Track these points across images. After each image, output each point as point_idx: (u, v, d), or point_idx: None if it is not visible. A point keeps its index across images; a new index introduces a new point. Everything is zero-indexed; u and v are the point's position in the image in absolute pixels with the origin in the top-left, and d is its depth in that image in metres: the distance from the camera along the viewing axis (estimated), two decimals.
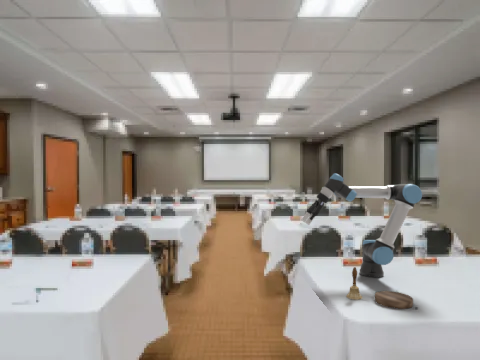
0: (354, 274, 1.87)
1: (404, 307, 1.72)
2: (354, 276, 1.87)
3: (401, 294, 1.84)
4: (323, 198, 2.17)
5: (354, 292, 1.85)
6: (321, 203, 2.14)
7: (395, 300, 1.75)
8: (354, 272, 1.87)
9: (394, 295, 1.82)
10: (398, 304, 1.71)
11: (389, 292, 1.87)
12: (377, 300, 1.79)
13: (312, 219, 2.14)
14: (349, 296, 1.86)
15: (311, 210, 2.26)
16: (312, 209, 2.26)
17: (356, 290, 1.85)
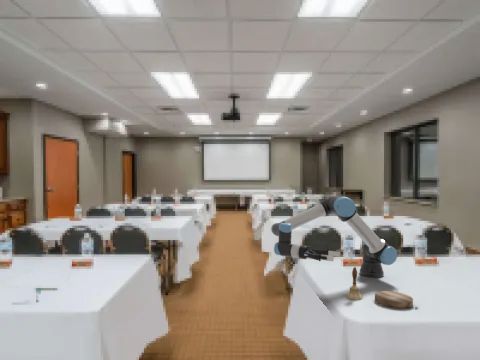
0: (354, 274, 1.87)
1: (404, 307, 1.72)
2: (354, 276, 1.87)
3: (401, 294, 1.84)
4: (301, 253, 1.99)
5: (354, 292, 1.85)
6: (305, 255, 1.94)
7: (395, 300, 1.75)
8: (354, 272, 1.87)
9: (394, 295, 1.82)
10: (398, 304, 1.71)
11: (389, 292, 1.87)
12: (377, 300, 1.79)
13: (325, 255, 1.89)
14: (349, 296, 1.86)
15: (323, 252, 2.02)
16: (321, 252, 2.02)
17: (356, 290, 1.85)
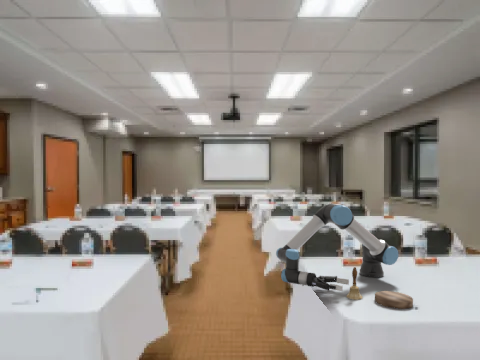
0: (354, 274, 1.87)
1: (404, 307, 1.72)
2: (354, 276, 1.87)
3: (401, 294, 1.84)
4: (309, 281, 1.96)
5: (354, 292, 1.85)
6: (314, 284, 1.91)
7: (395, 300, 1.75)
8: (354, 272, 1.87)
9: (394, 295, 1.82)
10: (398, 304, 1.71)
11: (389, 292, 1.87)
12: (377, 300, 1.79)
13: (334, 285, 1.85)
14: (349, 296, 1.86)
15: (332, 279, 1.99)
16: (330, 280, 1.99)
17: (356, 290, 1.85)
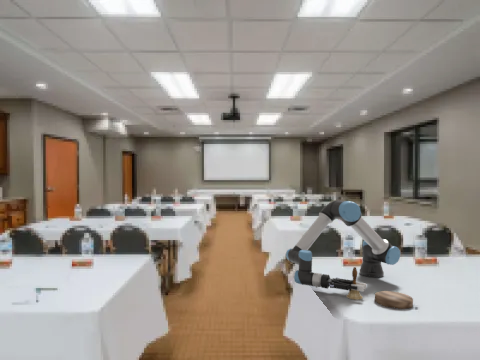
0: (354, 274, 1.87)
1: (404, 307, 1.72)
2: (354, 276, 1.87)
3: (401, 294, 1.84)
4: (324, 283, 1.92)
5: (354, 292, 1.85)
6: (332, 286, 1.87)
7: (395, 300, 1.75)
8: (354, 272, 1.87)
9: (394, 295, 1.82)
10: (398, 304, 1.71)
11: (389, 292, 1.87)
12: (377, 300, 1.79)
13: (355, 285, 1.84)
14: (349, 296, 1.86)
15: (347, 283, 1.92)
16: (345, 283, 1.92)
17: (356, 290, 1.85)
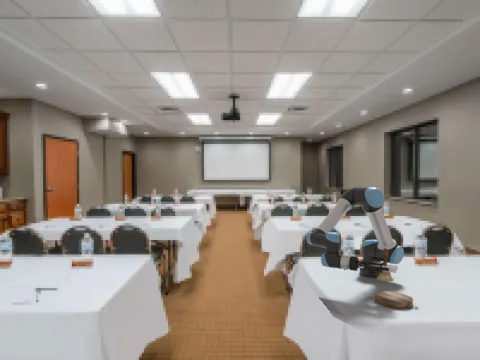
0: (385, 255, 1.80)
1: (404, 307, 1.72)
2: (385, 257, 1.80)
3: (401, 294, 1.84)
4: (353, 265, 1.86)
5: (385, 274, 1.79)
6: (362, 267, 1.81)
7: (395, 300, 1.75)
8: (385, 253, 1.80)
9: (394, 295, 1.82)
10: (398, 304, 1.71)
11: (389, 292, 1.87)
12: (377, 300, 1.79)
13: (387, 267, 1.78)
14: (380, 278, 1.79)
15: (377, 265, 1.85)
16: (375, 265, 1.86)
17: (387, 272, 1.79)
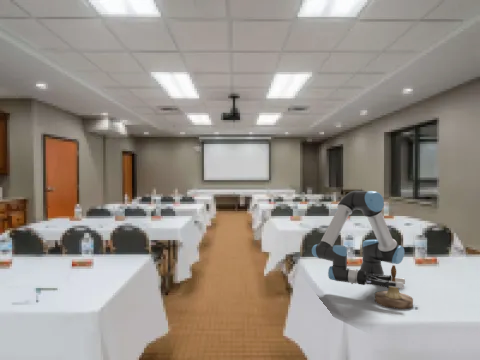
0: (393, 272, 1.79)
1: (404, 307, 1.72)
2: (393, 274, 1.80)
3: (401, 294, 1.84)
4: (361, 279, 1.85)
5: (394, 291, 1.78)
6: (369, 282, 1.80)
7: (395, 300, 1.75)
8: (393, 270, 1.80)
9: None
10: (398, 304, 1.71)
11: None
12: (377, 300, 1.79)
13: (394, 282, 1.76)
14: (388, 295, 1.79)
15: (385, 278, 1.86)
16: (382, 278, 1.86)
17: (396, 289, 1.78)
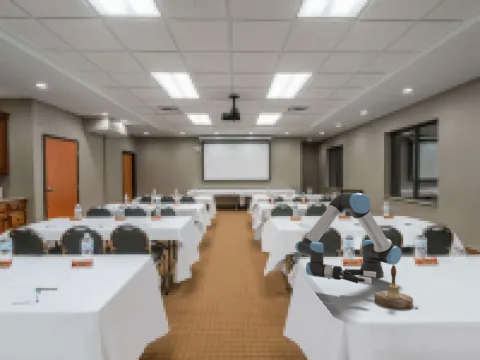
0: (393, 272, 1.79)
1: (404, 307, 1.72)
2: (393, 274, 1.80)
3: (401, 294, 1.84)
4: (336, 274, 1.91)
5: (394, 291, 1.78)
6: (341, 277, 1.87)
7: (395, 300, 1.75)
8: (393, 270, 1.80)
9: None
10: (398, 304, 1.71)
11: None
12: (377, 300, 1.79)
13: (363, 277, 1.81)
14: (388, 295, 1.79)
15: (358, 272, 1.94)
16: (356, 273, 1.94)
17: (396, 289, 1.78)
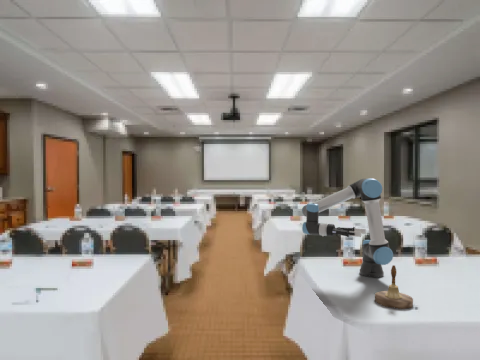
0: (393, 272, 1.79)
1: (404, 307, 1.72)
2: (393, 274, 1.79)
3: (401, 294, 1.84)
4: (329, 231, 2.11)
5: (394, 291, 1.78)
6: (334, 232, 2.07)
7: (395, 300, 1.75)
8: (393, 270, 1.79)
9: None
10: (398, 304, 1.71)
11: None
12: (377, 300, 1.79)
13: (353, 232, 2.01)
14: (388, 295, 1.79)
15: (350, 230, 2.14)
16: (348, 230, 2.14)
17: (396, 289, 1.78)
